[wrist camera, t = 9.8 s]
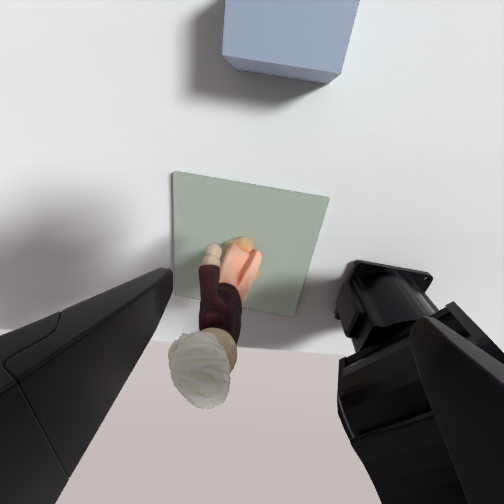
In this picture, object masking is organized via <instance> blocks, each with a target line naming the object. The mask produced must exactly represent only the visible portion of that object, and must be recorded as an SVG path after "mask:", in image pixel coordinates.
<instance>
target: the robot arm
mask: <svg viewBox="0 0 504 504" xmlns="http://www.w3.org/2000/svg"><path fill="white" fill-rule="evenodd" d="M361 265H362V267H361V268H358V267H359V266H361ZM426 277H427V278H426ZM424 278H426V279H424ZM423 279H424V280H423ZM432 280H433V277H432V276H431V275H430V274H429V273H427V272H423V271H417V270H411V269H406V268H400V267H395V266H389V265H383V264H378V263H372V262H367V261H357V262H356V263H355V264H354V266H353V268H352V271H351V273H350V275H349V278H348V280H347V281H346V282H344V284H343V286H342V289H341V291H340V294H339V296H338V299H337V301H336V306H337V307H336V310H335V312H334V314H335V318H336V319H338V320H341V323H342V326H343V330H344V333H345V335H346V337H348V338H351V339H352V342H353V346H354V349H355V352H356V353H355V354H353V355H351V356H349V357H344V358H342V359H340V360H339V373H338V394H337V407H338V415H339V417H340V419H341V422H342V425H343V427H344V429H345V432H346V434H347V436H348V438H349V440H350V442H351V445H352V447H353V449H354V450H355V452H356V453H357V455H358V456H359V458H360V459H361V461H362V463H363V464H364V466H365V468H366V470H367V472H368V474H369V476H370V478H371V480H372V482H373V484H374V486H375V489H376V491H377V493H378V495H379V498H380V500H381V503H382V504H504V353H503V352H502V351H501V350H500V349H499V348H498V346H497V345H496V344H495V343H494V342H493V341H492V340H491V339H490V338H489V337H488V336H487V335H486V334H485V333H484V332H483V331H482V330H481V329H480V328H479V327H478V326H477V325H476V324H475V323H474V322H473V321H472V320H471V319H470V318H469V317H468V316H467V315H466V314H465V312H464V311H463V310H462V309H461V308H460V307H459V306H458V305H457V304H456V303H455V302H454V301H453V302H451V303H449V304H447V305H445V306H446V307H445V308H443V309H441V310H438V308H437V307H436V306H435V305H434V303H433V302H432V301H431V300H430V299H429V297H428V296H427V295H426V294H425V292H426V290H427V289H428V287H429V285H430V284H431V282H432ZM172 291H173V272H172V270H171V269H166V268H158V269H156V270H154V271H152V272H149V273H147V274H145V275H142V276H140V277H138V278H135V279H133V280H131V281H129V282H126V283H124V284H122V285H119V286H117V287H115V288H112V289H110V290H108V291H106V292H103V293H101V294H99V295H96V296H94V297H92V298H89V299H87V300H85V301H82V302H80V303H78V304H76V305H73V306H71V307H69V308H66V309H64V310H62V312H57V313H55V314H52V315H50V316H48V317H45V318H43V319H41V320H38V321H36V322H33V323H31V324H29V325H26V326H24V327H21V328H19V329H16V330H14V331H11V332H8V333H6V334H3V335H1V336H0V504H55V503H56V501H57V499H58V498H59V496H60V494H61V492H62V491H63V489H64V487H65V485H66V484H67V482H68V480H69V477H70V476H71V475H72V473H73V471H74V470H75V468H76V466H77V465H78V463H79V461H80V459H81V458H82V456H83V454H84V453H85V451H86V449H87V447H88V446H89V444H90V442H91V440H92V439H93V437H94V435H95V434H96V432H97V430H98V428H99V427H100V425H101V423H102V422H103V420H104V418H105V416H106V415H107V413H108V411H109V409H110V408H111V406H112V404H113V403H114V401H115V399H116V397H117V396H118V394H119V392H120V391H121V389H122V387H123V385H124V383H125V382H126V380H127V379H128V377H129V375H130V373H131V372H132V370H133V368H134V367H135V365H136V363H137V361H138V360H139V358H140V356H141V355H142V353H143V351H144V349H145V348H146V346H147V344H148V343H149V341H150V339H151V337H152V336H153V334H154V332H155V330H156V328H157V326H158V324H159V322H160V319H161V317H162V315H163V313H164V310H165V308H166V306H167V303H168V301H169V299H170V296H171V294H172Z"/></svg>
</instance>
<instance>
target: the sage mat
mask: <svg viewBox="0 0 504 504" xmlns="http://www.w3.org/2000/svg"><path fill="white" fill-rule="evenodd" d="M328 203H329V198H328V197H324V196H319V195H313V194H307V193H301V192H295V191H289V190H284V189H278V188H272V187H266V186H260V185H255V184H249V183H243V182H237V181H231V180H225V179H220V178H214V177H208V176H202V175H196V174H191V173H185V172H179V171H175V172H173V208H174V275H175V295H177V296H182V297H188V298H193V299H198V300H201V297H200V283H199V267H200V266H202V262H203V258H204V257H205V249H206V247H207V246H208V245H209V244H212V243H215V244H218V245H219V246H220V247H221V249H222V254H221V257H220V258H219V259H220V266H221V264H222V262H223V259H224V256H225V253H224V251H223V244H224V243H225V242H226V241H228V240H231V239H234V238H237V237H240V236H246V237H249V238H250V239H251V240H252V241H253V243H254V247H255V250H259V251H260V253H261V255H262V260H261V263H260V266H259V276H258V278H257V279H256V280H254V281H253V282H252V284H251V287H250V289H249V291H248V294H247V296H246V299H245V301H244V303H243V304H242V308H246V309H252V310H257V311H262V312H268V313H273V314H278V315H284V316H289V317H294V314H295V311H296V308H297V304H298V301H299V298H300V295H301V291H302V288H303V285H304V281H305V278H306V275H307V272H308V268H309V265H310V262H311V258H312V255H313V252H314V249H315V245H316V242H317V239H318V235H319V232H320V229H321V226H322V222H323V219H324V216H325V212H326V209H327V206H328ZM255 250H254V251H255Z"/></svg>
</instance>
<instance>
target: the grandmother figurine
mask: <svg viewBox="0 0 504 504" xmlns="http://www.w3.org/2000/svg"><path fill="white" fill-rule="evenodd" d="M254 250H255V247H254V243H253V241H252V240H251V239H250V238H249V237H246V236H240V237H237V238H234V239H231V240H228V241H226V242H225V243H224V244H223V251H224V253H225V256H224V259H223V262H222V264H221V266H220V259H219V258H220V257H221V254H222V249H221V247H220V246H219V245H218V244H215V243H212V244H209V245H208V246H207V247H206V249H205V257H204V258H203V262H202V266H200V267H199V283H200V297H201V302H200V312H199V330H200V331H199V332H194V333H191V334H187V335H186V334H184V333H182V335H181V336H180V338H179V339H178V340H175V341H174V342H173V344H172V345H171V347H170V348H169V352H168V358H169V367H170V370H171V378H172V380H173V383H174V386H175V387H176V388H177V389H178V390H179V392H180V393H181V394H182V395H183V396H184V397H185V398H186V399H187V400H188V401H189V402H190V403H191V404H193V405H194V406H196V407H198V408H202V409H210V408H213V407H215V406H217V405H219V404H221V403H223V402H224V401H225V400H226V397H227V395H228V392H229V385H230V375H229V374H230V373H231V371H232V370H233V368H234V366H235V363H236V359H237V348H236V344H237V342H238V338H239V335H240V329H241V314H242V304H243V303H244V301H245V299H246V296H247V294H248V291H249V289H250V287H251V284H252V282H253V281H254V280H256V279H257V278H258V276H259V266H260V263H261V260H262V255H261V253H260V251H259V250H255V251H254Z"/></svg>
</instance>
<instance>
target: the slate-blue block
mask: <svg viewBox="0 0 504 504" xmlns="http://www.w3.org/2000/svg"><path fill="white" fill-rule="evenodd" d="M359 1H360V0H225V15H224V30H223V45H222V56H223V57H224V58H225V59H226V60H227V61H228V62H229V63H230V64H231V65H232V67H233V68H234V69H236V70H242V71H249V72H255V73H261V74H268V75H274V76H280V77H287V78H293V79H299V80H305V81H312V82H318V83H324V84H329V83H330V82H331V81H332V80H334V79H335V78H336V77H337V76H338V75H340V74H341V70H342V66H343V63H344V59H345V55H346V51H347V47H348V43H349V39H350V36H351V32H352V28H353V24H354V20H355V16H356V13H357V9H358V5H359Z"/></svg>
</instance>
